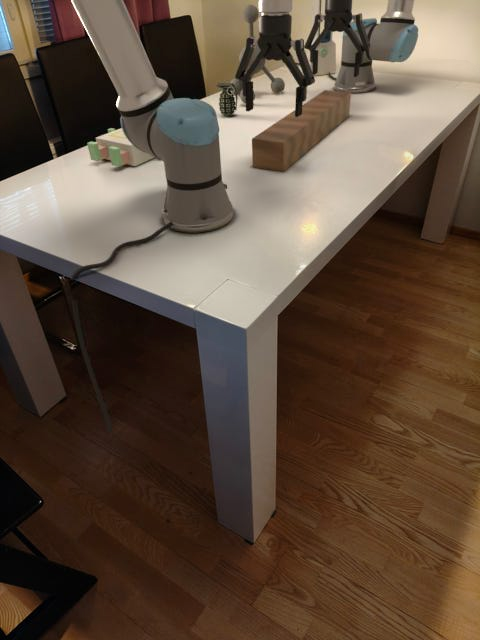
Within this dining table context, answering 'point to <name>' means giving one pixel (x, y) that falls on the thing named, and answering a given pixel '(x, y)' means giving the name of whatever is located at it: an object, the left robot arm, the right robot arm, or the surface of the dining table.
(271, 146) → the wooden square beam
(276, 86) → the molecular model
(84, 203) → the dining table surface
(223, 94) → the grenade
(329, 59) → the electronic device
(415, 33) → the right robot arm
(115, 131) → the decorative block
